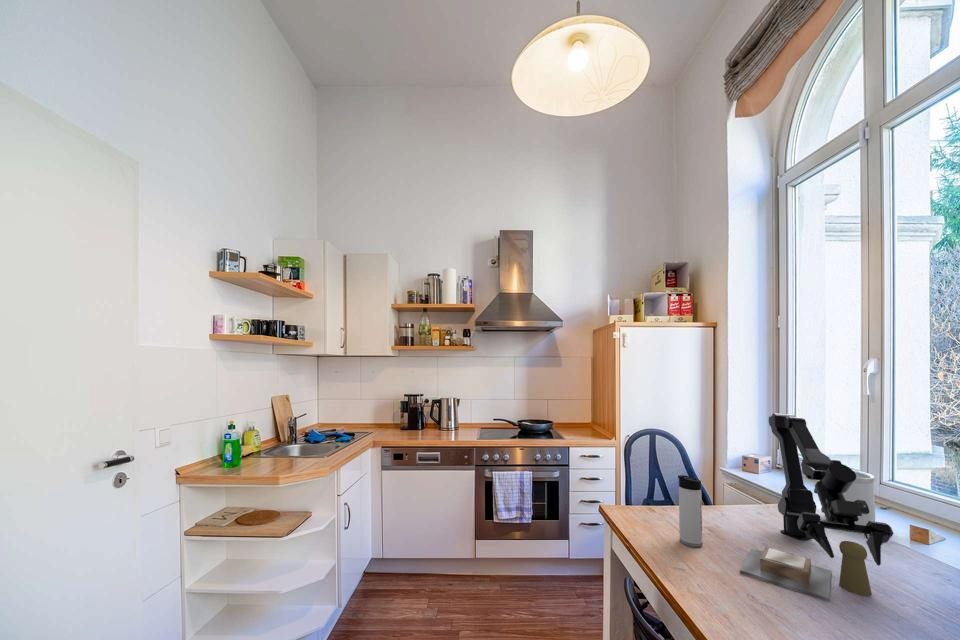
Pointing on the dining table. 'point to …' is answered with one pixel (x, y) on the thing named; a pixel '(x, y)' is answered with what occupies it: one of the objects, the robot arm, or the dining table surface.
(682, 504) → the travel mug
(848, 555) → the cork
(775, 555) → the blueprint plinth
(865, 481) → the utensil holder
